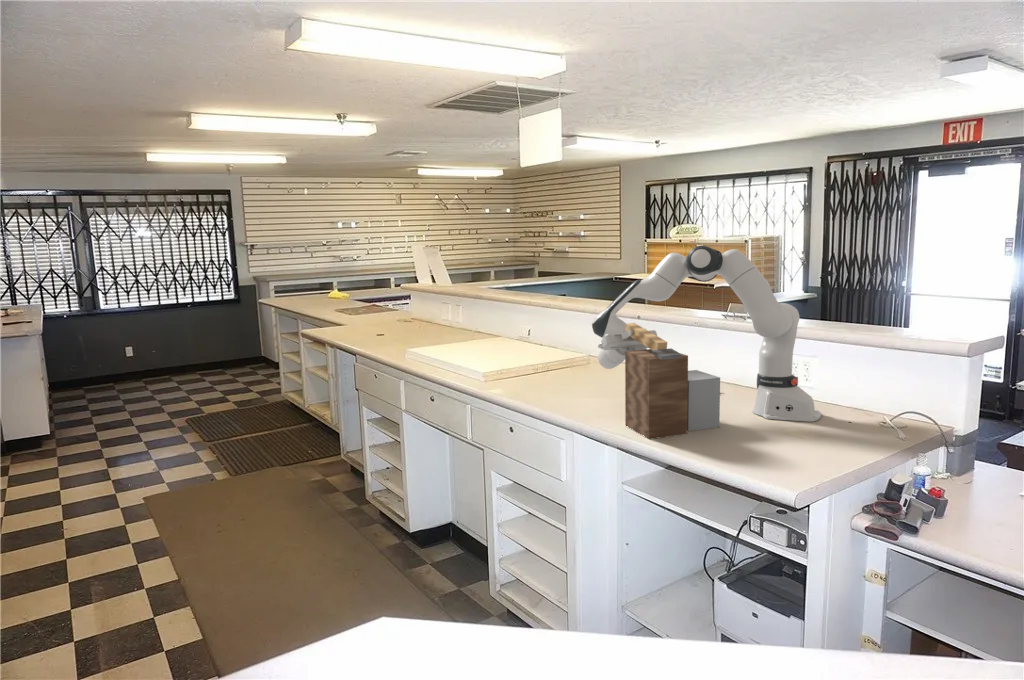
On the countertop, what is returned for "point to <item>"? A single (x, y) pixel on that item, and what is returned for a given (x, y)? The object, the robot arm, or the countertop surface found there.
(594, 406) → the countertop surface
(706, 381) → the step
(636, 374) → the pedestal
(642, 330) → the wooden bar
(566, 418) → the countertop surface
